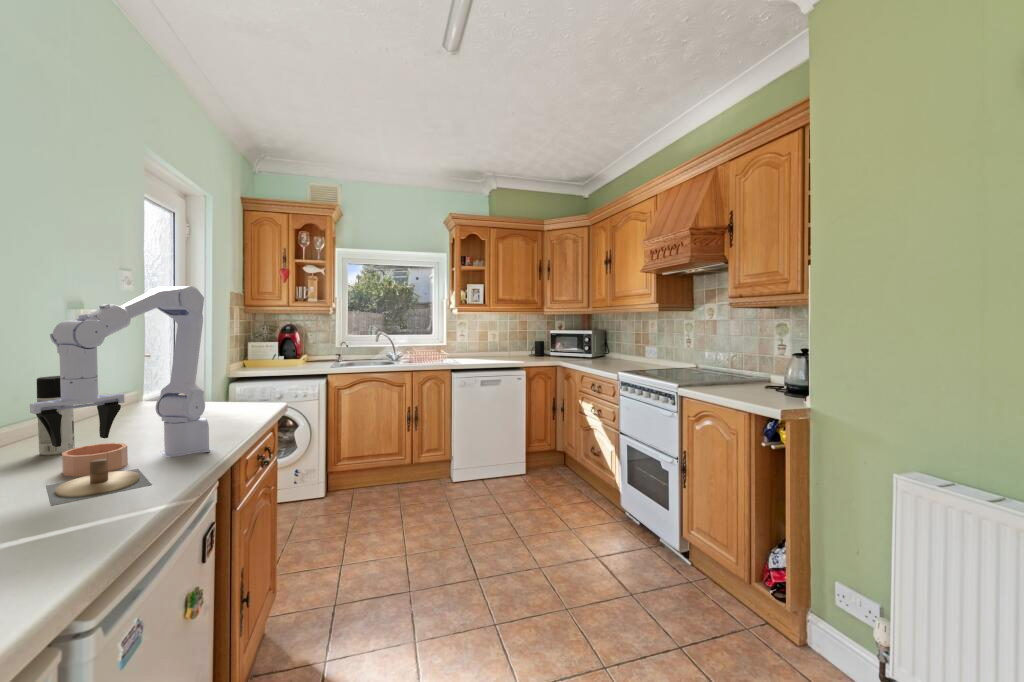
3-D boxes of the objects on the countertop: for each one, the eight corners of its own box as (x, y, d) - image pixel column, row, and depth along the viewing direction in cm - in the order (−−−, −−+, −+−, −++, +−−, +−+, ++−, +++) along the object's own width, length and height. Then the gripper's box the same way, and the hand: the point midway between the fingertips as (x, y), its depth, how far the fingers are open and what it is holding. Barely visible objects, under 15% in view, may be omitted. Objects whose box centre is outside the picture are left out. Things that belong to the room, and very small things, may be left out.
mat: (138, 471, 106) (138, 468, 106) (152, 487, 96) (152, 484, 96) (46, 488, 94) (46, 485, 94) (51, 508, 85) (51, 505, 84)
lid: (133, 470, 104) (132, 448, 104) (145, 484, 96) (144, 460, 95) (53, 485, 95) (52, 461, 94) (58, 502, 86) (57, 475, 86)
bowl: (122, 460, 114) (122, 440, 113) (131, 470, 106) (130, 449, 106) (61, 470, 105) (60, 449, 105) (65, 482, 98) (64, 459, 98)
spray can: (80, 450, 121) (78, 376, 121) (48, 457, 115) (45, 379, 114) (65, 447, 124) (63, 374, 123) (32, 454, 117) (29, 377, 116)
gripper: (113, 373, 103) (114, 431, 104) (22, 379, 90) (25, 447, 91) (128, 375, 100) (130, 435, 101) (36, 382, 87) (39, 452, 88)
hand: (81, 441), depth 96 cm, fingers open, 7 cm apart
